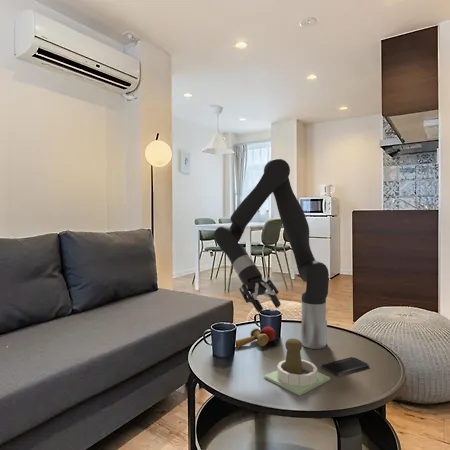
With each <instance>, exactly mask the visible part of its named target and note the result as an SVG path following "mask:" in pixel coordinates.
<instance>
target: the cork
mask: <svg viewBox="0 0 450 450" xmlns="http://www.w3.org/2000/svg"><path fill="white" fill-rule="evenodd" d="M284 343H285V344H284V345H285V349H286V353H285V354H286V355H285V360H286V361H285V368H284V371H286V372H288V373H291V374H298V375H301V374H303V370H302V362H301V360H302V355H301V351H302V348H303V345H302V340H300V339H297V338H288V339H286V341H285V342H284Z"/></svg>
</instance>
